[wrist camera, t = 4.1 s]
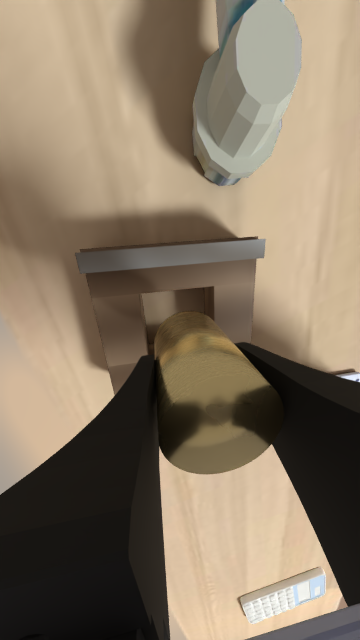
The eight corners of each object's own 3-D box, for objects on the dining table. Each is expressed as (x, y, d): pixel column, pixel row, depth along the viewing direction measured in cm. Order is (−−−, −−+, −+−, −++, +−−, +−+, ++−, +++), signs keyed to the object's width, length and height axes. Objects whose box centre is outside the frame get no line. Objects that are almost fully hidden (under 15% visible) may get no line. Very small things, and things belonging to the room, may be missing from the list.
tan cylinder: (218, 367, 12) (274, 463, 7) (156, 374, 12) (162, 483, 6) (221, 308, 11) (293, 367, 6) (151, 313, 11) (153, 383, 5)
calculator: (237, 593, 43) (241, 608, 41) (320, 562, 44) (327, 575, 42) (246, 613, 48) (250, 627, 46) (320, 584, 49) (327, 597, 47)
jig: (235, 360, 21) (253, 384, 17) (120, 376, 19) (113, 407, 16) (239, 238, 16) (265, 235, 13) (92, 249, 15) (74, 249, 11)
